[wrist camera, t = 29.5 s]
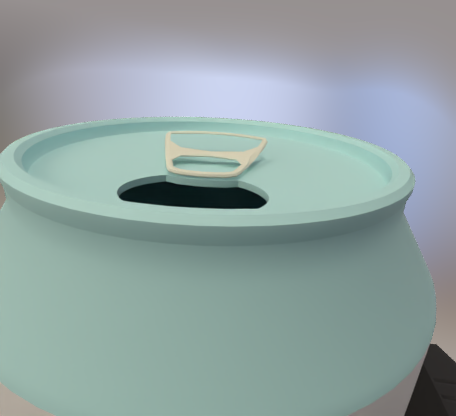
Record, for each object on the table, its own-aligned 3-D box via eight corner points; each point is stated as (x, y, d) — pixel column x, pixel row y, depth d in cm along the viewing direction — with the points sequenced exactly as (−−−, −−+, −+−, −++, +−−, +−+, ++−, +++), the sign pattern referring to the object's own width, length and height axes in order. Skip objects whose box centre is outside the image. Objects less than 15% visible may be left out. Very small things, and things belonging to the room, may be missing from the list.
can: (380, 613, 9) (587, 175, 4) (102, 946, 5) (-342, 502, 1) (235, 401, 14) (259, 107, 10) (51, 498, 11) (-46, 113, 6)
